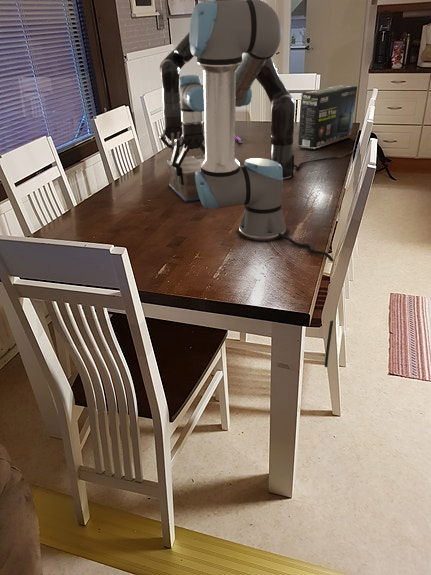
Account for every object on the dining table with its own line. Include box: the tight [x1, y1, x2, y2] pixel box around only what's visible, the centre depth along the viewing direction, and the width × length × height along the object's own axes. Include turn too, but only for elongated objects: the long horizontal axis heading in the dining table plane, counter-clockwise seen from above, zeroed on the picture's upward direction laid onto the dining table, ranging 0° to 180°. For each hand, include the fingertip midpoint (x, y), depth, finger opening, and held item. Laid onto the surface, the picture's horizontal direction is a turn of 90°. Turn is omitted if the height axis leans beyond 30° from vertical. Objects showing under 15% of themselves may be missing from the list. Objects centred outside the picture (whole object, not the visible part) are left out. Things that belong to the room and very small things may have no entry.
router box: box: [297, 84, 358, 151], centre depth 238 cm, size 36×11×27 cm, turn 134°
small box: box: [166, 155, 201, 203], centre depth 183 cm, size 21×11×11 cm, turn 22°
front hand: (195, 181), depth 177 cm, fingers closed on small box, 11 cm apart
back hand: (175, 157), depth 194 cm, fingers closed
